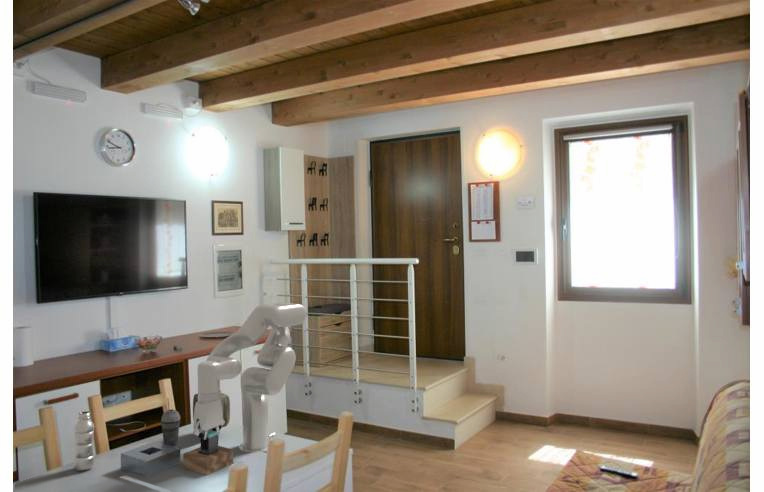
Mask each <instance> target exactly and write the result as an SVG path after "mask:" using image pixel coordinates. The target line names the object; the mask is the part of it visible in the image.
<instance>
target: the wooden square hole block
mask: <svg viewBox="0 0 764 492" xmlns="http://www.w3.org/2000/svg"><path fill="white" fill-rule="evenodd" d="M182 458H183V459H182V468H183V469H184V470H189V471H191V472H194V473H195V472H196V473H199V474H201V475H204V476H209V475H212V474H214V473H216V472H217V471H219V470H220V471H221V470H222V469H224V468H226V467H228V466H231V465H233V464H234V449H232V448H230V447H225V446H222V445H218V452H216V453H213V454H211V455H208V456H207V455H204V454H201V446H199V447H197V448H194V449H192V450H189V451H187V452H184V453H183V454H182Z"/></svg>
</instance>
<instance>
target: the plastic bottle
mask: <svg viewBox="0 0 764 492" xmlns="http://www.w3.org/2000/svg"><path fill="white" fill-rule="evenodd" d="M90 418H91V411H81V412H79V413H78V417H77V419H78V421H77V422H76V424H75V426H74V428H73V431H74V438H75V453H74V459H73V468H74V469H75V470H76V471H80V472H81V471H82V472H83V471H87V470H90V469H91V468H93V466H94V463H95V456H94V446H93V442H94V441H93V440H94V433H95V424H94V422H93V421H92V420H91V419H90Z"/></svg>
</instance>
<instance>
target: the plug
mask: <svg viewBox="0 0 764 492" xmlns="http://www.w3.org/2000/svg"><path fill="white" fill-rule="evenodd" d="M203 435H204V432H203ZM207 439H208V450H207V451H206V450H202V449H201V454H204V455H207V456H208V455H211V454H213V453H216V452H218V446H219V434H218V432H217V431H213V430H208V432H207Z"/></svg>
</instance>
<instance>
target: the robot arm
mask: <svg viewBox="0 0 764 492" xmlns="http://www.w3.org/2000/svg"><path fill="white" fill-rule="evenodd" d="M307 314H308V312H307V309H306V307H305V306H304V305H303V304H301V303H293V302H292V303H290V302H289V303H288V302H275V303H273V304H260V305H257V306H256V307H255V308H254V310H252V312H251V313H250V314H249V316H248V317H247V319H246V320H245V321H244V322H243V324H242V325H241V327H240V328H238V330H237V331H236V332H234V333H233V334H231V335H229V336H228V337H226V338H225V339H223V340H222V341H220V342H219V343H217V345H216V346H214V348H213V350H211V352H210V354H209V355H208V357H206V360H204V361H201V362H199V363H198V365H197V394H198V402H196V405H195V411H194V421H193V432H192V434H193V435H195V436H197V437H198V439H200V447H201V449H202V450H206V451H207V450H208V439H207V432H208V430H210V429H211V430H213V431H217V432H218V435H220V433H221V432H220V431H221V429H223V427H222V426H223V425H224V423H225V421H224V419H223V408H222V402H221V398H220V393H222V390H221V382H220V381H224V380H231V379H235V378H236V377H238V376H239V375H240V374H241V371H242V363H241V362H240V361H239V360H238V359H236V358H233V357H230V356H232V355H233V354H235V353H236V352H238V351H241V350H245V349H248V348H252V347H253V346H255V345H256V344H258V342H259V340H260V339H261V338H262V336H263V335H264V333H265V332H266V331H267V330H268V328H269V327H270V329H271V330H270V332H269V335H268V337H267V339H266V340H265V342H264V344H263V346H261V349H260V351H259V352H258V354H257V358H256V359H257V360H256V361H257V364H258V365H259V366H261V367H257V366H251V367H248V368H246V369H245V370H243V372H242V374H241V376H240V388H241V391H242V403H243V404H242V405H243V406H242V443H241V444H239V446H238V449H239V450H240V451H242V452H246V453H259V452H262V453H267V452H268V451H267V444H268V441H269V442H270V440H271V439H274V438H276V435H277V434H276V433H275V432H271V433H269V400H268V396H271V397H272V396H273V397H274V396H277V395H278V394H279V393H280V392H281V391H282V390H283V387H284V386H285V384H286V382H287V380H288V379H289V377H290V375H291V373H292V371H293V369H294V367H295V364H296V361H297V360H296V359H297V357H296V352H295V350H294V349H293V348H291V347H290V346H288V345H289V342H290V340H291V332H290V328H289V327H295V326H300V325H301V324H303V323H304V322H305V321H306V319H307ZM199 430H200V431H199ZM203 432H204V435H203Z"/></svg>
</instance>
